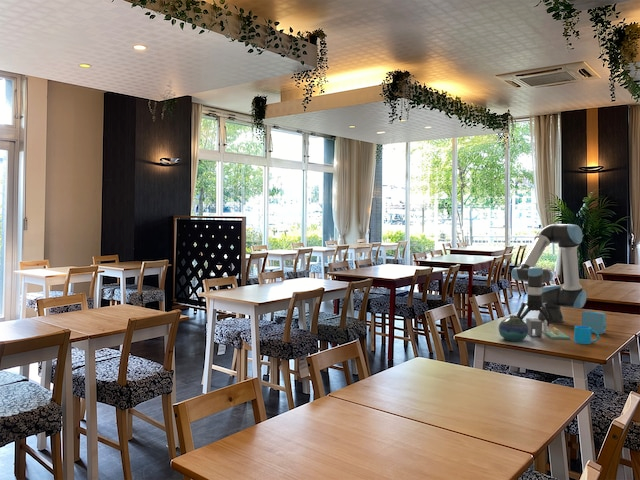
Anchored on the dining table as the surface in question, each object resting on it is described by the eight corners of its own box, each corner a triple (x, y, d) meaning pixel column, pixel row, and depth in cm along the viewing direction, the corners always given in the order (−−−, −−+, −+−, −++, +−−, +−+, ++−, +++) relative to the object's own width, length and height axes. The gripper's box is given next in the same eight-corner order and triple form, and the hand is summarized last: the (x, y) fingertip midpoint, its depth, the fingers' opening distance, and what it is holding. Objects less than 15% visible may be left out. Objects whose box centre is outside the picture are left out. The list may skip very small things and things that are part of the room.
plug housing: (525, 333, 289) (526, 317, 289) (536, 333, 288) (536, 318, 288) (530, 337, 280) (531, 321, 280) (541, 337, 279) (542, 321, 279)
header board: (541, 332, 291) (541, 325, 291) (559, 333, 290) (559, 325, 290) (551, 339, 276) (551, 331, 275) (570, 339, 274) (570, 332, 274)
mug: (572, 342, 269) (573, 327, 268) (575, 339, 275) (576, 324, 275) (597, 345, 261) (598, 330, 261) (600, 343, 268) (600, 328, 267)
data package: (605, 333, 290) (606, 313, 290) (603, 334, 287) (603, 314, 287) (584, 330, 299) (584, 310, 299) (581, 331, 296) (581, 311, 296)
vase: (525, 344, 262) (526, 319, 262) (495, 340, 270) (495, 316, 270) (530, 339, 275) (530, 315, 275) (501, 335, 283) (502, 312, 283)
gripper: (514, 294, 281) (513, 332, 282) (559, 295, 278) (558, 333, 279) (510, 292, 288) (509, 329, 289) (554, 293, 286) (553, 330, 287)
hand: (533, 331), depth 284 cm, fingers open, 12 cm apart
